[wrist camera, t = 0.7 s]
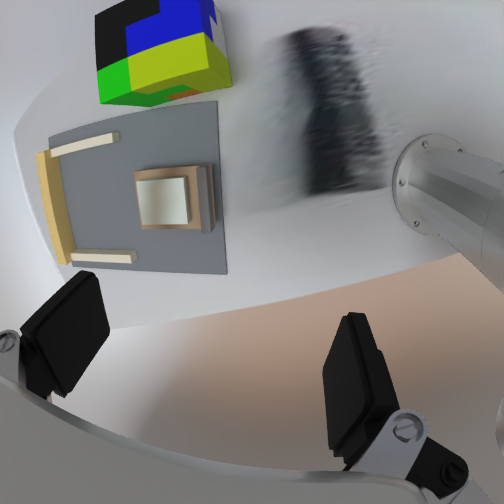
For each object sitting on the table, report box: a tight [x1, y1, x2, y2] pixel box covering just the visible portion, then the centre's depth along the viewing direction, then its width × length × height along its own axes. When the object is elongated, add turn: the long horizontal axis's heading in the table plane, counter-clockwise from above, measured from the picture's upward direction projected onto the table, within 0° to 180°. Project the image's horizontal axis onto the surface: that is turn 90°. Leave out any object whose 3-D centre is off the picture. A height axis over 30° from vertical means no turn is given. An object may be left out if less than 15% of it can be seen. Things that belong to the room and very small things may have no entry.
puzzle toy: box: [95, 0, 232, 107], centre depth 20 cm, size 10×10×10 cm
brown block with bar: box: [134, 164, 216, 234], centre depth 29 cm, size 9×7×4 cm
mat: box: [36, 101, 227, 275], centre depth 31 cm, size 26×21×3 cm
